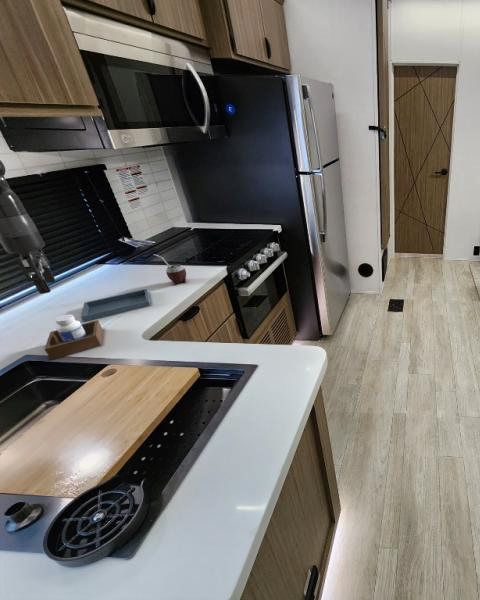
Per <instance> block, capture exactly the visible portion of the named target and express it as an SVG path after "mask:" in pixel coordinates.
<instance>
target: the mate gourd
mask: <svg viewBox="0 0 480 600" xmlns="http://www.w3.org/2000/svg"><path fill="white" fill-rule="evenodd" d="M152 255H153V256H155V257H158V258H160V260H161V261H163V263H165V264H166V266H167V267H166V270H165V271H166V276H167V278H168V279H169V280H170V281H171V282H172V283H173V284H174V286H176V285H178V284H181V283H182V284H186V283H187V279H186V278H187V271H186V268H185V267H184V266H183V265H182V264H179V263H178V264H177V263H176V264H171V265H170V264H169V263H168V262H167V260H165V258H164V257H163V256H160V255H158V254H154V253H153V254H152Z"/></svg>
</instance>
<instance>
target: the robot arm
mask: <svg viewBox="0 0 480 600" xmlns="http://www.w3.org/2000/svg"><path fill="white" fill-rule="evenodd" d="M5 174H6V166H5V165H4V162H3V161H2V160H1V159H0V244H1V246H2V247H3V250H5V252H6V253H8V254H18V255H19V257H20V258H19V259H18V260H17V264H18V265H19V267H20V269H21V271H22V273H23V275H24V276H25V278H26V280H27V282H29V283H33V284H34V286H35V288H36V290H37V292H38V293H39V294H40V295H44V294H48V293H51V288H50V285H49V284H52V283H55V282H56V278H55V276H54V275H53V273H52V270H51V262H50V261H49V260H48V257H47V256H46V254H45V252H44V251H43V248H44V247H45V246H46V243H45V241H44V240H43V237H42V236H41V233H40V232H39V230H38V228H37V226H36V224H35V222H34V220H33V219H32V218H31V217H30V215H29V213H28V212H27V210H26V208H25V207H24V204H23V203H22V200H21V199H20V198H19V196H18V194H16V193H15V192H14V191H13V190H12V189H11V187H10V185H9V183H8V181H7V179H6V178H5ZM34 275H35V276H34Z"/></svg>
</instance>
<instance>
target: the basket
mask: <svg viewBox="0 0 480 600" xmlns="http://www.w3.org/2000/svg"><path fill="white" fill-rule="evenodd" d="M81 325H82V327H83V329H84V331H85V332H86V334H87V336H88V337H84V338H81V339H77V340H73V341H69V342H66V343H64V341H63V339H62V337H61V336H60V334H59V332H58V331H57V329H55V330H52V331H50V332H49V334H48V338H47V341H46V343H45V346H44V351H45V353H46V354H47V356H48V358H49V359H50V361H52V360H56V359H60V358H63V357H66V356H70V355H74V354H77V353H80V352H84V351H85V352H86V351H88V350H92V349H95V348H98V347H102V343H103V333H104V329H103V327H102V326H101V325H102V324H100V322H99V320H98V319H95V320H91V321H87V322H83V323H81ZM61 342H62V343H61Z"/></svg>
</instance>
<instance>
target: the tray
mask: <svg viewBox="0 0 480 600" xmlns="http://www.w3.org/2000/svg"><path fill="white" fill-rule="evenodd" d="M149 293H150V292H149V291H148V288H144V289H140V290H134V291H130V292H126V293H121V294H116V295H113V296H108V297H102V298H99V299H98V298H97V299H94V300H89V301H85V302H83V306H82V311H81V315H80V318H81V320H82V322H83V323H87V322H92V321H96V320H98V319H102V318H107V317H110V316H115V315H118V314H123V313H127V312H130V311H135V310H139V309H143V308H147V307H151V300H150V294H149Z"/></svg>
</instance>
